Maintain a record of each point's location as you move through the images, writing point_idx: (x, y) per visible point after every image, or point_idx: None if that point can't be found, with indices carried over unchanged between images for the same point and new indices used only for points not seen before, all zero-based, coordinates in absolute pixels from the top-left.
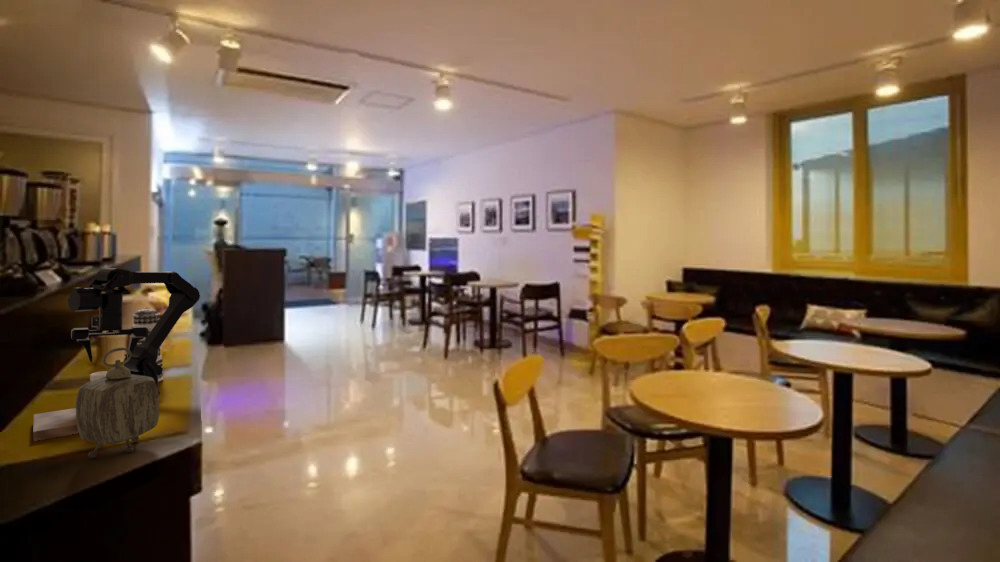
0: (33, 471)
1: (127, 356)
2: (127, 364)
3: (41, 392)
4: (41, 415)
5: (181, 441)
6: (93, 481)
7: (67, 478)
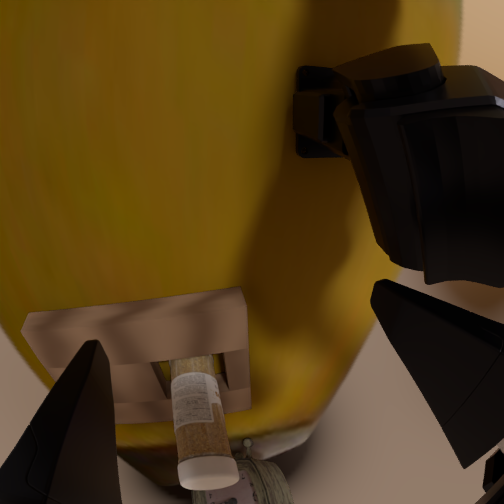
0: (144, 461)
1: (388, 306)
2: (360, 169)
3: None
4: (45, 349)
5: (295, 439)
6: None
7: None
